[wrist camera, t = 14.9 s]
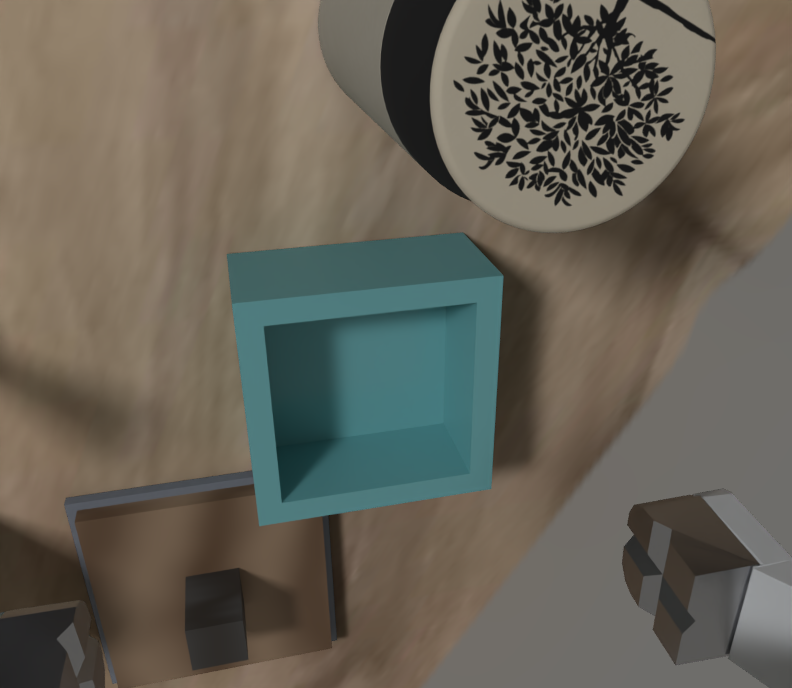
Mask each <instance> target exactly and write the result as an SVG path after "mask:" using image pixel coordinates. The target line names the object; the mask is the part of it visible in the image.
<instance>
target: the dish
mask: <svg viewBox="0 0 792 688" xmlns="http://www.w3.org/2000/svg"><path fill="white" fill-rule="evenodd" d="M227 260H228V270H229V280H230V289H231V299H232V308H233V316H234V324H235V332H236V341H237V349H238V357H239V365H240V373H241V381H242V389H243V398H244V406H245V414H246V422H247V430H248V438H249V446H250V455H251V463H252V471H253V479H254V487H255V495H256V504H257V512H258V520H259V526H264V525H270V524H277V523H283V522H289V521H295V520H301V519H308V518H314V517H320V516H326V515H332V514H339V513H345V512H351V511H357V510H363V509H370V508H376V507H382V506H388V505H394V504H400V503H407V502H413V501H419V500H425V499H431V498H438V497H444V496H450V495H456V494H462V493H469V492H475V491H481V490H487V489H491V484H492V466H493V449H494V432H495V414H496V397H497V380H498V362H499V345H500V327H501V310H502V293H503V274H502V273H501V272H500V271H499V270H498V269H497V268H496V267H495V266H494V265H493V264H492V263H491V262H490V261H489V260H488V259H487V258H486V256H485V255H484V254H483V253H482V252H481V251H480V250H479V249H478V248H477V247H476V246H475V245H474V244H473V243H472V242H471V241H470V240H469V239H468V237H467V236H466V235H465V234H464V233H453V234H442V235H431V236H420V237H409V238H398V239H387V240H376V241H365V242H354V243H343V244H332V245H321V246H310V247H299V248H288V249H277V250H266V251H255V252H244V253H233V254H227Z"/></svg>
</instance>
